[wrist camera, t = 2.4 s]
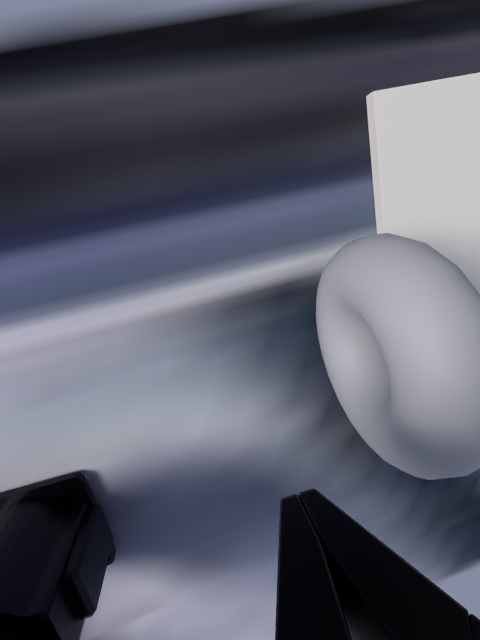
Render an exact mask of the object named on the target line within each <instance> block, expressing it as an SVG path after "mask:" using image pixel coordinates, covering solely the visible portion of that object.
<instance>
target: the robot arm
mask: <svg viewBox="0 0 480 640" xmlns="http://www.w3.org/2000/svg"><path fill="white" fill-rule="evenodd" d="M72 482H77V483H78V484H74V483H72ZM112 542H113V535H112V533H111V530H110V528H109V525H108V523H107V521H106V518H105V516H104V513H103V511H102V509H101V506H100V505H98V504H97V503H96V502H95V499H94V497H93V495H92V492H91V490H90V487H89V485H88V483H87V480H86V478H85V476H84V475H83V474H81V473H72V474H68V475H65V476H61V477H58V478H54V479H51V480H47V481H43V482H40V483H36V484H33V485H29V486H26V487H22V488H19V489H15V490H11V491H8V492H4V493H1V494H0V640H80V636H81V632H82V629H83V625H84V621H85V618H89V617H91V616H93V614H94V612H95V611H96V609H97V605H98V601H99V596H100V592H101V588H102V584H103V579H104V575H105V571H106V567H107V565H110V564H112V563H113V562H114V559H115V555H116V550H115V547H114V545H113V543H112ZM275 640H480V620H479V619H478V618H477V617H476V616H474V615H473V614H470V615H469V614H468V611H467V610H466V609H465V608H464V607H463V606H462V605H460V604H459V603H458V602H456V601H455V600H454V599H453V598H451V597H450V596H449V595H448V594H446V593H445V592H444V591H443V590H441V589H440V588H439V587H438V586H436V585H435V584H434V583H433V582H431V581H430V580H429V579H428V578H426V577H425V576H424V575H423V574H421V573H420V572H419V571H418V570H416V569H415V568H414V567H413V566H411V565H410V564H409V563H408V562H406V561H405V560H404V559H403V558H401V557H400V556H399V555H398V554H396V553H395V552H394V551H393V550H391V549H390V548H389V547H387V546H386V545H385V544H384V543H382V542H381V541H380V540H379V539H377V538H376V537H375V536H374V535H372V534H371V533H370V532H369V531H367V530H366V529H365V528H364V527H362V526H361V525H360V524H359V523H357V522H356V521H355V520H354V519H352V518H351V517H350V516H349V515H347V514H346V513H345V512H344V511H342V510H341V509H340V508H339V507H337V506H336V505H335V504H333V503H332V502H331V501H330V500H328V499H327V498H326V497H325V496H323V495H322V494H321V493H320V492H318V491H317V490H316V489H310V490H307V491H303V492H300V493H299V494H298V496H297V495H296V494H294V495H290V496H287V497H284V498H282V499H281V501H280V521H279V549H278V577H277V605H276V633H275Z"/></svg>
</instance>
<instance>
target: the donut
mask: <svg viewBox="0 0 480 640" xmlns="http://www.w3.org/2000/svg"><path fill="white" fill-rule="evenodd" d="M316 322H317V332H318V338H319V343H320V347H321V352H322V357H323V360H324V363H325V366H326V369H327V372H328V375H329V378H330V381H331V383H332V386H333V388H334V390H335V393H336V395H337V397H338V400H339V402H340V404H341V405H342V407H343V409H344V411H345V413H346V415H347V416H348V418H349V420H350V422H351V423H352V424H353V426H354V427H355V428H356V430H357V431H358V433H359V434H360V435H361V437H362V438H363V439H364V441H365V442H366V443H367V444H368V445H369V446H370V447H371V448H372V449H373V450H374V451H375V452H376V453H377V454H378V455H379V456H380V457H381V458H382V459H383V460H384V461H386V462H387V463H389V464H391V465H393V466H394V467H396V468H398V469H400V470H402V471H404V472H406V473H408V474H410V475H412V476H414V477H418V478H423V479H427V480H433V479H443V478H453V477H461V476H467V475H469V474H471V473H472V472H474V471H476V470H478V469H479V468H480V294H479V293H478V291H477V290H476V289H475V288H474V286H473V285H472V284H471V282H470V281H469V280H468V278H467V277H466V276H465V274H464V273H463V272H462V271H461V270H460V269H459V267H458V266H457V265H455V264H454V263H453V262H451V261H450V260H448V259H447V258H446V257H444V256H443V255H442V254H440V253H439V252H438V251H436V250H435V249H433V248H432V247H431V246H429V245H428V244H427V243H424V242H420V241H417V240H414V239H410V238H406V237H402V236H398V235H394V234H390V233H381V234H374V235H370V236H367V237H364V238H361V239H357V240H355V241H352V242H350V243H348V244H345V245H344V246H343V247H342V248H341V249H340V250H339V251H338V252H337V253H336V254H335V255H334V256H333V258H332V259H331V260H330V261H329V263H328V264H327V265H326V267H325V269H324V271H323V273H322V275H321V279H320V282H319V286H318V289H317V299H316Z"/></svg>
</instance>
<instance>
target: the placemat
mask: <svg viewBox="0 0 480 640" xmlns="http://www.w3.org/2000/svg"><path fill="white" fill-rule="evenodd" d="M366 102H367V114H368V127H369V139H370V152H371V164H372V177H373V189H374V202H375V214H376V227H377V234H381V233H390V234H394V235H398V236H402V237H406V238H410V239H414V240H417V241H420V242H424V243H427V244H428V245H429V246H431V247H432V248H433V249H435V250H436V251H438V252H439V253H440V254H442V255H443V256H444V257H446V258H447V259H448V260H450V261H451V262H453V263H454V264H455V265H457V266H458V267H459V269H460V270H461V271H462V272H463V273H464V274H465V276H466V277H467V278H468V280H469V281H470V282H471V284H472V285H473V286H474V288H475V289H476V290H477V291H478V293H479V294H480V73H474V74H469V75H463V76H457V77H452V78H446V79H440V80H435V81H429V82H423V83H418V84H412V85H406V86H401V87H395V88H389V89H383V90H378V91H373V92H371V93H370V94H369V95H368V96H366Z"/></svg>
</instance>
